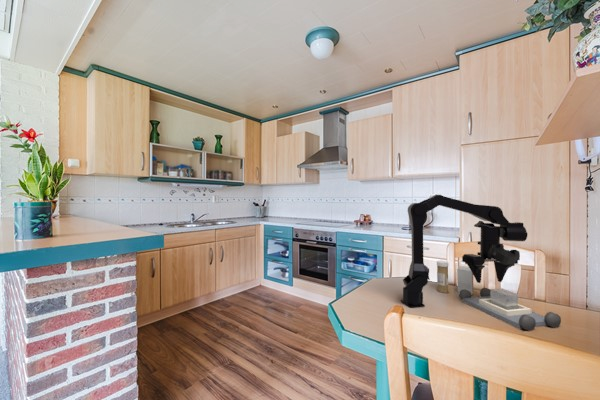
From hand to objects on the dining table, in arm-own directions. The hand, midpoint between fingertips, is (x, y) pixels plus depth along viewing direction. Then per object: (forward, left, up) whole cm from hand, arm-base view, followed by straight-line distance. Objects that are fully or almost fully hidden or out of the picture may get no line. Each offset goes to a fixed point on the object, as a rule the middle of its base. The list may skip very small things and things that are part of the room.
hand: (489, 282), depth 94 cm
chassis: (+4, -2, -11) cm, 11 cm away
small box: (+8, +19, -11) cm, 23 cm away
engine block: (+4, -2, -9) cm, 10 cm away
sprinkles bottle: (-2, +21, -11) cm, 23 cm away
